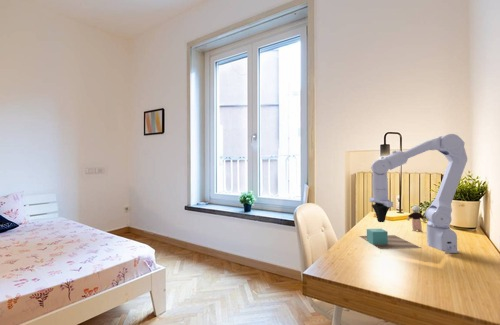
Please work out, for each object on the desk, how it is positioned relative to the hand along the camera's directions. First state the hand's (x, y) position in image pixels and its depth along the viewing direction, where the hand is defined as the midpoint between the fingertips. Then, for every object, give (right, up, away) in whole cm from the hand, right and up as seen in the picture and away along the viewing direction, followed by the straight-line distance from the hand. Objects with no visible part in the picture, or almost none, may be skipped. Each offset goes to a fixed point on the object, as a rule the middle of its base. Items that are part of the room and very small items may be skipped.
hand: (381, 221), depth 108 cm
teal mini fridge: (-2, -8, -1) cm, 9 cm away
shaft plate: (+3, -9, 0) cm, 10 cm away
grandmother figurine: (+26, -9, +18) cm, 33 cm away
